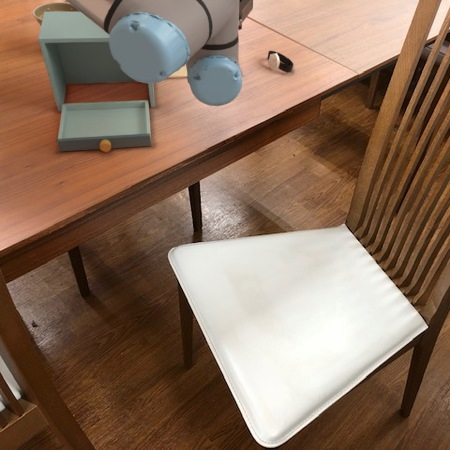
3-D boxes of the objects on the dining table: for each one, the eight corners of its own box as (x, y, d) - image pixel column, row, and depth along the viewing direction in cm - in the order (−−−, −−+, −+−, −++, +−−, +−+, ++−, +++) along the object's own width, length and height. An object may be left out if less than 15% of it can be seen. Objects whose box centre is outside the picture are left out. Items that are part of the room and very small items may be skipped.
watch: (261, 61, 116) (262, 46, 113) (278, 57, 118) (279, 42, 115) (281, 77, 112) (282, 62, 109) (298, 72, 114) (299, 57, 111)
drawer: (151, 149, 89) (150, 139, 88) (59, 155, 86) (55, 145, 84) (148, 108, 98) (147, 98, 97) (64, 111, 95) (62, 101, 93)
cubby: (155, 107, 99) (146, 37, 89) (58, 111, 95) (37, 38, 85) (152, 79, 106) (144, 11, 96) (62, 82, 102) (44, 11, 92)
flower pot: (87, 38, 115) (79, 0, 109) (92, 58, 109) (84, 19, 103) (42, 42, 112) (31, 3, 106) (45, 63, 106) (33, 22, 100)
